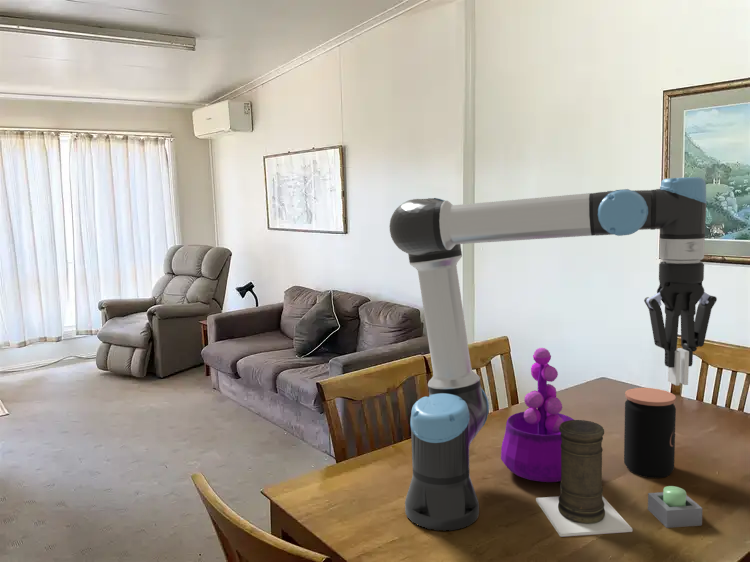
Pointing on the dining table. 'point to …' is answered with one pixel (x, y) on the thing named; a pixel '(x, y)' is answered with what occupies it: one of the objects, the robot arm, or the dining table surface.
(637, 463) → the coffee jar
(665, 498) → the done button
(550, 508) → the paper sheet
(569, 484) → the container
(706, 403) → the dining table surface
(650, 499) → the button housing
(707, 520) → the dining table surface
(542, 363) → the decorative plant
